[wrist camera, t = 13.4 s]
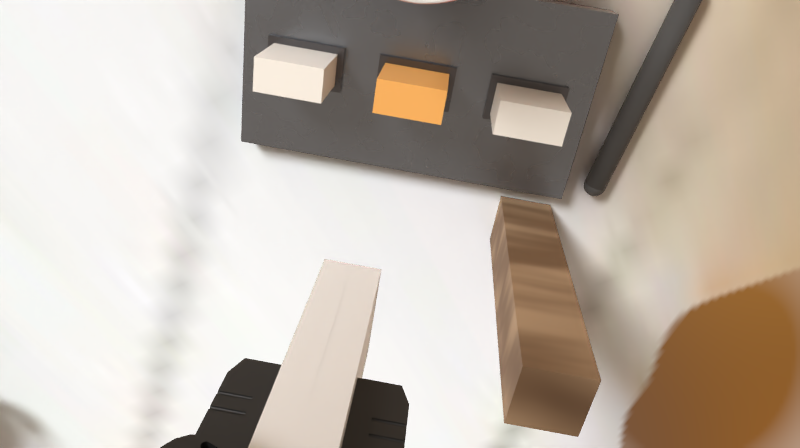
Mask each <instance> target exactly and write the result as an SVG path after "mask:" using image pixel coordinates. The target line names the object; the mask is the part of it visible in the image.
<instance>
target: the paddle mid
mask: <svg viewBox="0 0 800 448" xmlns="http://www.w3.org/2000/svg"><path fill="white" fill-rule="evenodd" d="M448 82H449V74H446V73H440V72H435V71H429V70H424V69H418V68H412V67H407V66H401V65H395V64H390V63H385V64H384V66H383V68H382V70H381V72H380V74H379V76H378V77H377V82H376V89H375V97H374V104H373V112H372V113H376V114H382V115H388V116H393V117H399V118H404V119H410V120H416V121H421V122H427V123H432V124H438V125H441V123H442V117H443V112H444V107H445V102H446V97H447V91H448Z"/></svg>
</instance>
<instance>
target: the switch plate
mask: <svg viewBox="0 0 800 448" xmlns="http://www.w3.org/2000/svg"><path fill="white" fill-rule="evenodd" d="M618 15H619V14H617V13H615V12H614V11H611V10H605V9H599V8H594V7H588V6H582V5H577V4H571V3H565V2H559V1H554V0H456V1H451V2H447V3H440V4H414V3H408V2H404V1H400V0H245V31H244V65H243V98H242V132H241V141H242V142H248V143H254V144H259V145H265V146H270V147H276V148H281V149H287V150H292V151H298V152H303V153H309V154H315V155H320V156H326V157H331V158H337V159H342V160H348V161H353V162H359V163H365V164H370V165H376V166H381V167H387V168H392V169H398V170H403V171H409V172H415V173H420V174H426V175H431V176H437V177H442V178H448V179H453V180H459V181H465V182H470V183H476V184H481V185H487V186H492V187H498V188H503V189H509V190H514V191H520V192H526V193H531V194H537V195H542V196H548V197H553V198H559V199H562V196H563V192H564V189H565V186H566V183H567V180H568V176H569V173H570V170H571V167H572V163H573V160H574V157H575V154H576V151H577V147H578V144H579V141H580V138H581V134H582V131H583V128H584V125H585V122H586V118H587V115H588V112H589V109H590V105H591V102H592V99H593V96H594V92H595V89H596V86H597V83H598V80H599V76H600V73H601V70H602V67H603V63H604V60H605V57H606V54H607V51H608V47H609V44H610V41H611V38H612V34H613V31H614V28H615V25H616V22H617V18H618ZM273 43H277V44H283V45H288V46H294V47H300V48H305V49H311V50H316V51H322V52H328V53H333V54H338V56H337V66H336V76H335V85H334V87H333V88H332V90H331V91H330V92H329V94H328V95H327V96H326V98H325V99H324V100H323V102H322V103H321V104H320V103H315V102H309V101H304V100H298V99H292V98H287V97H281V96H276V95H270V94H264V93H259V92H253V71H254V56H256V55H257V54H259V53H260V52H262V51H263V50H265V49H266V48H267V47H269V46H270V45H272V44H273ZM385 63H390V64H395V65H401V66H407V67H412V68H418V69H424V70H429V71H435V72H440V73H446V74H449V82H448V91H447V97H446V102H445V107H444V112H443V117H442V123H441V125H438V124H432V123H427V122H421V121H416V120H410V119H404V118H399V117H393V116H388V115H382V114H376V113H372V112H373V104H374V97H375V89H376V82H377V77H378V76H379V74H380V72H381V70H382V68H383V66H384V64H385ZM497 83H502V84H508V85H514V86H519V87H525V88H531V89H536V90H542V91H548V92H553V93H559V94H562V96H563V98H564V99H565V101H566V103H567V105H568V107H569V109H570V111H571V113H572V114H571V117H570V121H569V124H568V127H567V131H566V134H565V138H564V141H563V144H562V147H561V146H555V145H550V144H544V143H539V142H533V141H527V140H522V139H516V138H511V137H505V136H499V135H494V134H493V133H492V125H491V116H490V112H491V108H492V104H493V99H494V95H495V91H496V86H497Z"/></svg>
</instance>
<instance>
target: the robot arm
mask: <svg viewBox="0 0 800 448" xmlns="http://www.w3.org/2000/svg"><path fill="white" fill-rule="evenodd" d="M380 274H381V269H376V268H370V267H365V266H360V265H354V264H349V263H343V262H338V261H332V260H327V259H325V260H324V262H323V264H322V267H321V269H320V272H319V274H318V277H317V279H316V282H315V284H314V287H313V289H312V292H311V294H310V296H309V299H308V301H307V304H306V306H305V309H304V311H303V314H302V316H301V319H300V321H299V324H298V326H297V328H296V331H295V333H294V336H293V338H292V341H291V343H290V346H289V348H288V351H287V353H286V356H285V358H284V360H283V363H282V365H279V364H274V363H268V362H263V361H258V360H252V359H247V358H245V359H243V360H242V361H241V362H240V363H238V364H237V365H236V366H235V367H234V368H232V369H231V370H230V371H229V372H228V373H227V375H226V377H225V378H224V380H223V382H222V384H221V386H220V388H219V390H218V394H216V396H215V398H214V400H213V402H212V404H211V406H210V409H208V411H207V413H206V415H205V417H204V419H203V421H202V423H201V425H200V427H199V429H198V431H197V433H196V435H187V436H183V437H180V438H176V439H174V440H172V441H170V442H169V443H167V444H165V445H164V446H162V447H161V448H404V443H405V435H406V426H407V418H408V409H409V403H408V401H407V398H406V395H405V393H404V390H403V388H402V386H400V385H395V384H389V383H384V382H379V381H373V380H368V379H362V375H363V371H364V366H365V362H366V357H367V353H368V348H369V341H370V335H371V329H372V323H373V317H374V311H375V305H376V298H377V292H378V286H379V280H380Z"/></svg>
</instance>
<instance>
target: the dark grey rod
mask: <svg viewBox="0 0 800 448" xmlns="http://www.w3.org/2000/svg"><path fill="white" fill-rule="evenodd" d="M701 1H702V0H674V2H673V4H672V6H671V8H670V10H669V12H668V14H667V16H666V18H665V20H664V22H663V24H662V26H661V28H660V30H659V32H658V34H657V36H656V38H655V40H654V42H653V44H652V46H651V48H650V50H649V52H648V54H647V56H646V58H645V61H644V63H643V65H642V67H641V69H640V71H639V73H638V75H637V77H636V79H635V81H634V83H633V85H632V87H631V89H630V91H629V93H628V95H627V97H626V99H625V101H624V103H623V105H622V107H621V109H620V111H619V113H618V115H617V117H616V119H615V121H614V123H613V125H612V127H611V130H610V132H609V134H608V136H607V138H606V140H605V142H604V144H603V146H602V148H601V150H600V152H599V154H598V156H597V158H596V160H595V162H594V164H593V166H592V168H591V170H590V172H589V174H588V176H587V178H586V180H585V183H584V189H585V191H586V192H587V193H588V194H589V195H592V196H597V195H600V194H602V193H603V192H604V190H605V188H606V186H607V184H608V182H609V180H610V178H611V176H612V175H613V173H614V171H615V169H616V167H617V165H618V163H619V161H620V159H621V157H622V155H623V153H624V151H625V149H626V147H627V145H628V143H629V141H630V139H631V138H632V136H633V134H634V132H635V130H636V128H637V126H638V124H639V122H640V120H641V118H642V116H643V114H644V112H645V110H646V108H647V106H648V104H649V103H650V101H651V99H652V97H653V95H654V93H655V91H656V89H657V87H658V85H659V83H660V81H661V79H662V77H663V75H664V73H665V71H666V69H667V67H668V66H669V64H670V62H671V60H672V58H673V56H674V54H675V52H676V50H677V48H678V46H679V44H680V42H681V40H682V38H683V36H684V34H685V32H686V31H687V29H688V27H689V25H690V23H691V21H692V19H693V17H694V15H695V13H696V11H697V9H698V7H699V5H700V3H701Z"/></svg>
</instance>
